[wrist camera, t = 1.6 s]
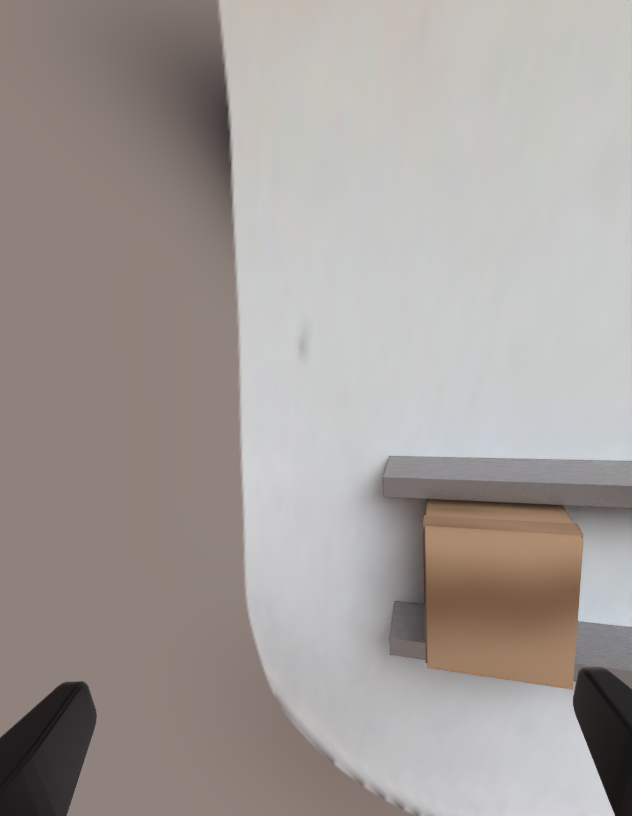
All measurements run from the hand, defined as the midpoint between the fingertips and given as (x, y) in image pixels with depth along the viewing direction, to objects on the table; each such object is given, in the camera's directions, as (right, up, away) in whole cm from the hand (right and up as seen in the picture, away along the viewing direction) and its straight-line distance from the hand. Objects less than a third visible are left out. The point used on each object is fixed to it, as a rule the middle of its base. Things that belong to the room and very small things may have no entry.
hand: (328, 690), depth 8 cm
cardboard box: (+9, -2, +16) cm, 18 cm away
